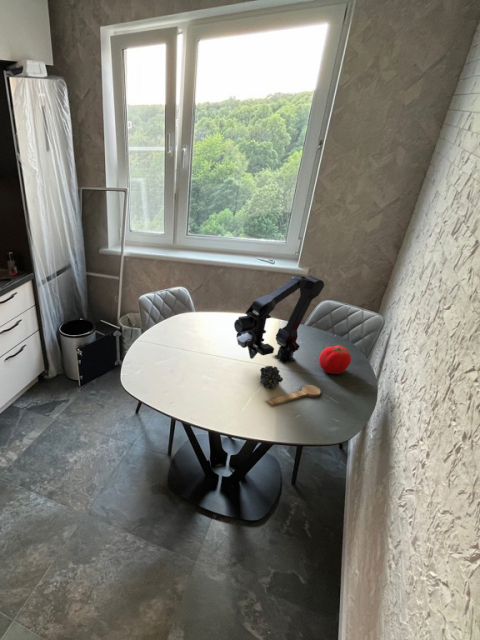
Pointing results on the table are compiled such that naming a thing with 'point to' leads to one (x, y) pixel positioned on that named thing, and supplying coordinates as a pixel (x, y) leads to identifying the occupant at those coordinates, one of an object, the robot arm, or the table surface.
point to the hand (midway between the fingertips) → (251, 358)
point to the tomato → (334, 359)
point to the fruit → (270, 376)
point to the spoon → (297, 395)
